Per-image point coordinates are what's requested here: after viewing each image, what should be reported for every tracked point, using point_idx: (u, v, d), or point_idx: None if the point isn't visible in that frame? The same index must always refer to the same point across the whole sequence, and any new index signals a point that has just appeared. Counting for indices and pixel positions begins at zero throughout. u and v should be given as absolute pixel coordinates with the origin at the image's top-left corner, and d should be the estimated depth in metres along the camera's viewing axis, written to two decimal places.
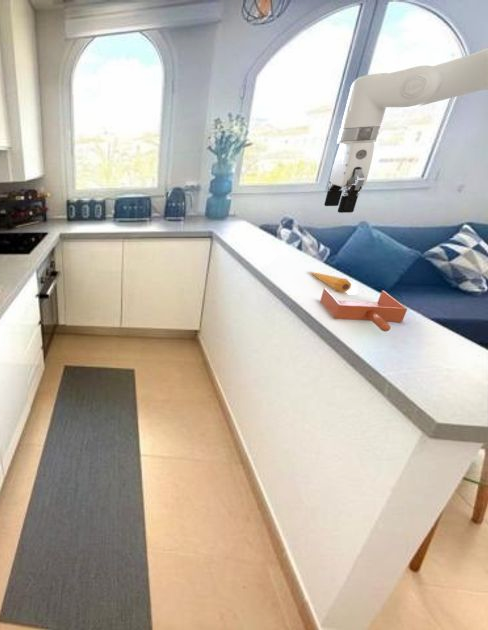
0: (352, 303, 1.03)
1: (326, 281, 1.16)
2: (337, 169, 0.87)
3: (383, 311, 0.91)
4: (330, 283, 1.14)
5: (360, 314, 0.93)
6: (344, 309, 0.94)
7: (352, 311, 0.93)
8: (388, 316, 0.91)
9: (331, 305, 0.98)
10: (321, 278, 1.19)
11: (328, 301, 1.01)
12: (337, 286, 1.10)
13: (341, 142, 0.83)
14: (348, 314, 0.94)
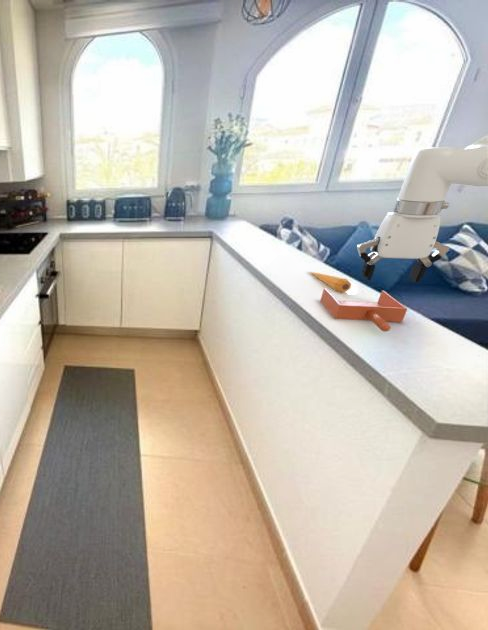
0: (352, 303, 1.03)
1: (326, 281, 1.16)
2: (410, 243, 0.78)
3: (383, 311, 0.91)
4: (330, 283, 1.14)
5: (360, 314, 0.93)
6: (344, 309, 0.94)
7: (352, 311, 0.93)
8: (388, 316, 0.91)
9: (331, 305, 0.98)
10: (321, 278, 1.19)
11: (328, 301, 1.01)
12: (337, 286, 1.10)
13: (431, 216, 0.74)
14: (348, 314, 0.94)
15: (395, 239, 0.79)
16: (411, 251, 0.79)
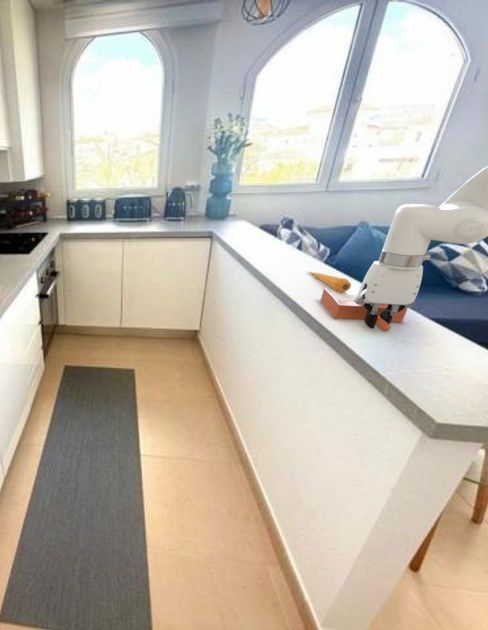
0: (352, 303, 1.03)
1: (326, 281, 1.16)
2: (395, 291, 0.83)
3: None
4: (330, 283, 1.14)
5: (360, 314, 0.93)
6: (344, 309, 0.94)
7: (352, 311, 0.93)
8: None
9: (331, 305, 0.98)
10: (321, 278, 1.19)
11: (328, 301, 1.01)
12: (337, 286, 1.10)
13: (414, 268, 0.79)
14: (348, 314, 0.94)
15: (381, 287, 0.83)
16: (396, 298, 0.84)
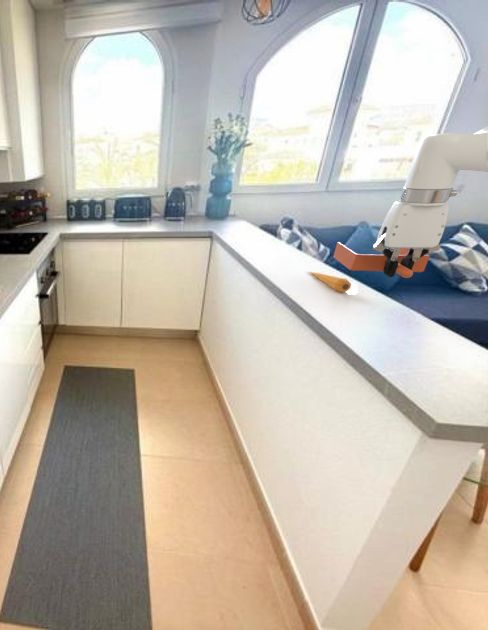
0: None
1: (326, 281, 1.16)
2: (418, 232, 0.77)
3: None
4: (330, 283, 1.14)
5: (378, 264, 0.87)
6: (361, 259, 0.87)
7: (369, 261, 0.87)
8: None
9: (346, 258, 0.92)
10: (321, 278, 1.19)
11: (342, 254, 0.94)
12: (337, 286, 1.10)
13: (439, 204, 0.73)
14: (365, 265, 0.88)
15: (402, 228, 0.77)
16: (419, 240, 0.77)
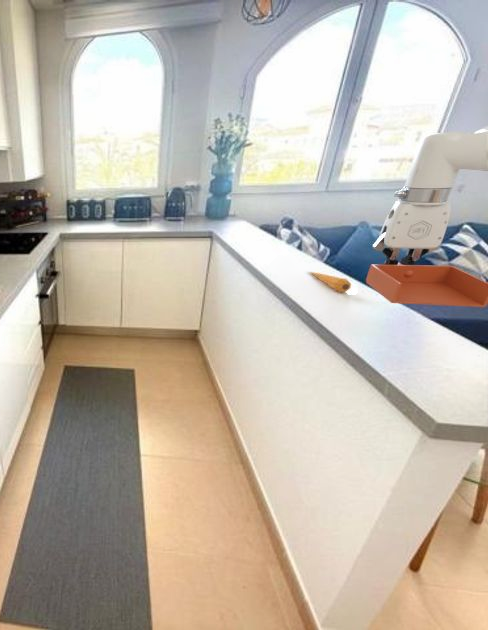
0: (431, 300, 0.70)
1: (326, 281, 1.16)
2: None
3: None
4: (330, 283, 1.14)
5: None
6: None
7: None
8: None
9: None
10: (321, 278, 1.19)
11: None
12: (337, 286, 1.10)
13: None
14: None
15: None
16: None
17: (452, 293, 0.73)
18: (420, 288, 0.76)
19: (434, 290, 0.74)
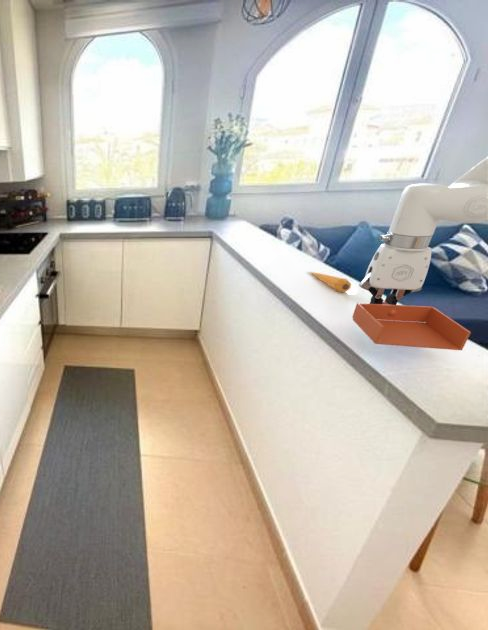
0: (412, 342, 0.75)
1: (326, 281, 1.16)
2: None
3: None
4: (330, 283, 1.14)
5: None
6: None
7: None
8: None
9: None
10: (321, 278, 1.19)
11: None
12: (337, 286, 1.10)
13: None
14: None
15: None
16: None
17: (432, 334, 0.77)
18: (402, 328, 0.80)
19: (415, 331, 0.79)
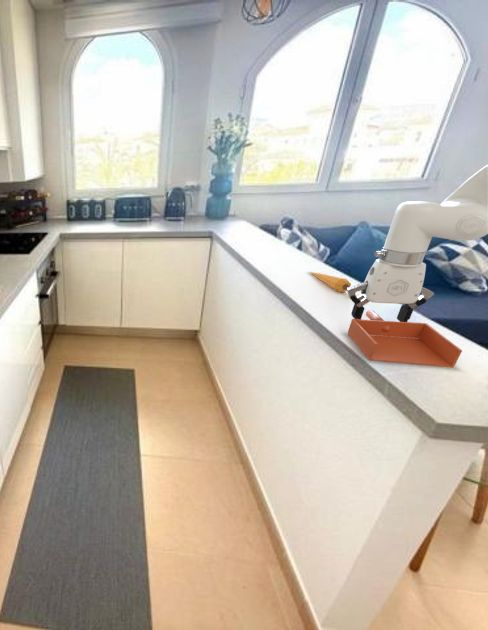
0: (405, 358, 0.77)
1: (326, 281, 1.16)
2: None
3: None
4: (330, 283, 1.14)
5: None
6: None
7: None
8: None
9: None
10: (321, 278, 1.19)
11: None
12: (337, 286, 1.10)
13: None
14: None
15: None
16: None
17: (424, 350, 0.79)
18: (396, 344, 0.82)
19: (409, 347, 0.81)
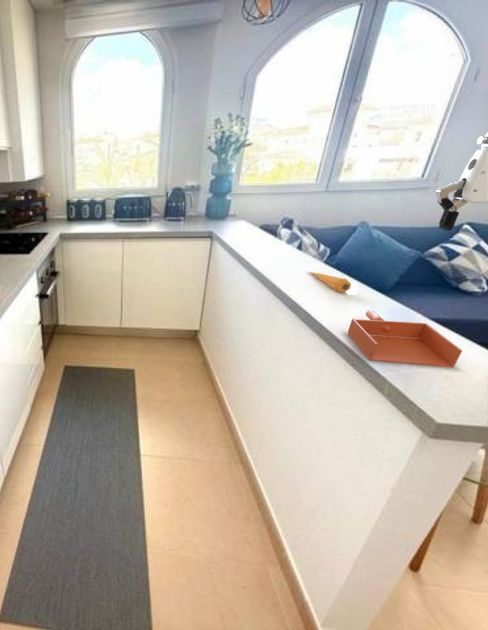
0: (405, 358, 0.77)
1: (326, 281, 1.16)
2: None
3: None
4: (330, 283, 1.14)
5: None
6: None
7: None
8: None
9: None
10: (321, 278, 1.19)
11: None
12: (337, 286, 1.10)
13: None
14: None
15: None
16: None
17: (424, 351, 0.79)
18: (396, 344, 0.82)
19: (409, 347, 0.81)
